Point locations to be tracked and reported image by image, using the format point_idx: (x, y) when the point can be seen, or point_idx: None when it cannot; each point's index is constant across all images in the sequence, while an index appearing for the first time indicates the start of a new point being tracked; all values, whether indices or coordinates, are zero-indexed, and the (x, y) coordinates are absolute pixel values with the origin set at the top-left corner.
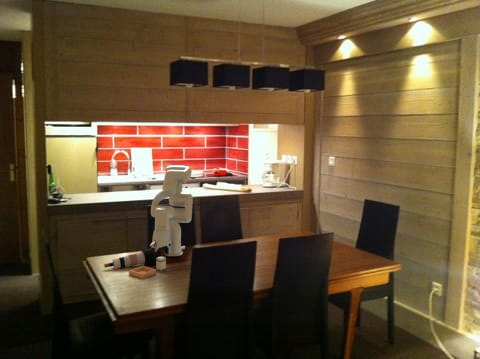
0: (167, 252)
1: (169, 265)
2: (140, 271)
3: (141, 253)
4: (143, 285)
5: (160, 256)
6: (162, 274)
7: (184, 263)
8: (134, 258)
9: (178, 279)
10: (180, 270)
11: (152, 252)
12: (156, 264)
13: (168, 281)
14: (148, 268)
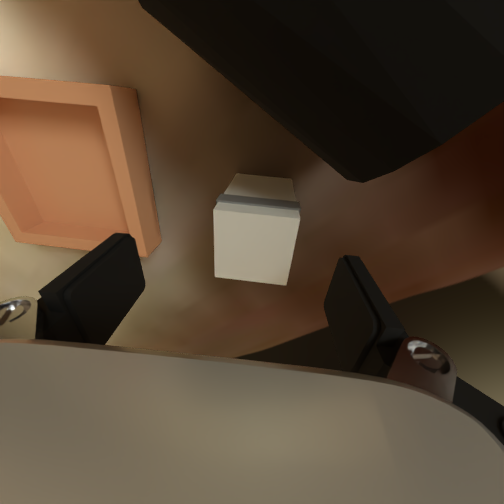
0: (330, 326)
1: (371, 205)
2: (78, 122)
3: None
4: (18, 286)
5: (342, 172)
6: (184, 273)
7: (462, 267)
8: None
9: (191, 351)
10: (302, 310)
11: (273, 41)
12: (229, 186)
13: (143, 335)
14: (120, 187)
